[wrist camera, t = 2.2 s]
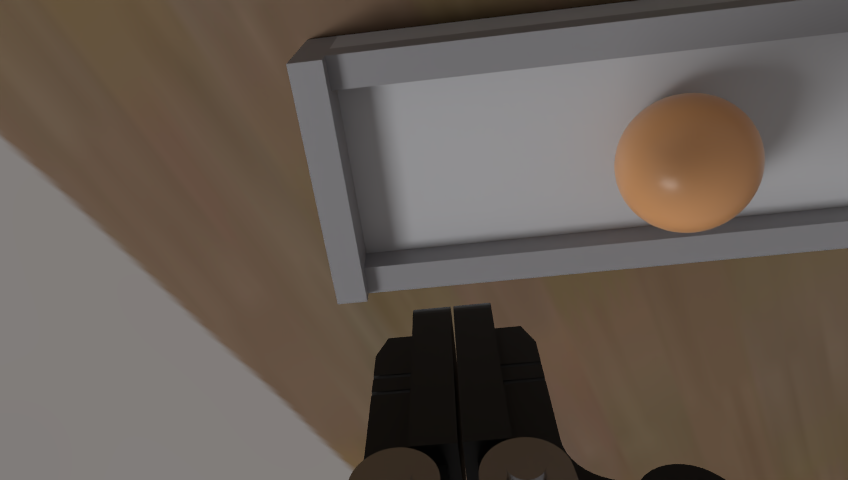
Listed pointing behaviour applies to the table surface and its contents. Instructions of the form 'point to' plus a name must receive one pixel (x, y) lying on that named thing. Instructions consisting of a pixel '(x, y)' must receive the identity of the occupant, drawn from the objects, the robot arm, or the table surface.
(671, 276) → the table surface
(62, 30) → the table surface
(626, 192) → the ball
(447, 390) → the robot arm
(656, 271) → the table surface
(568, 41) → the lane
